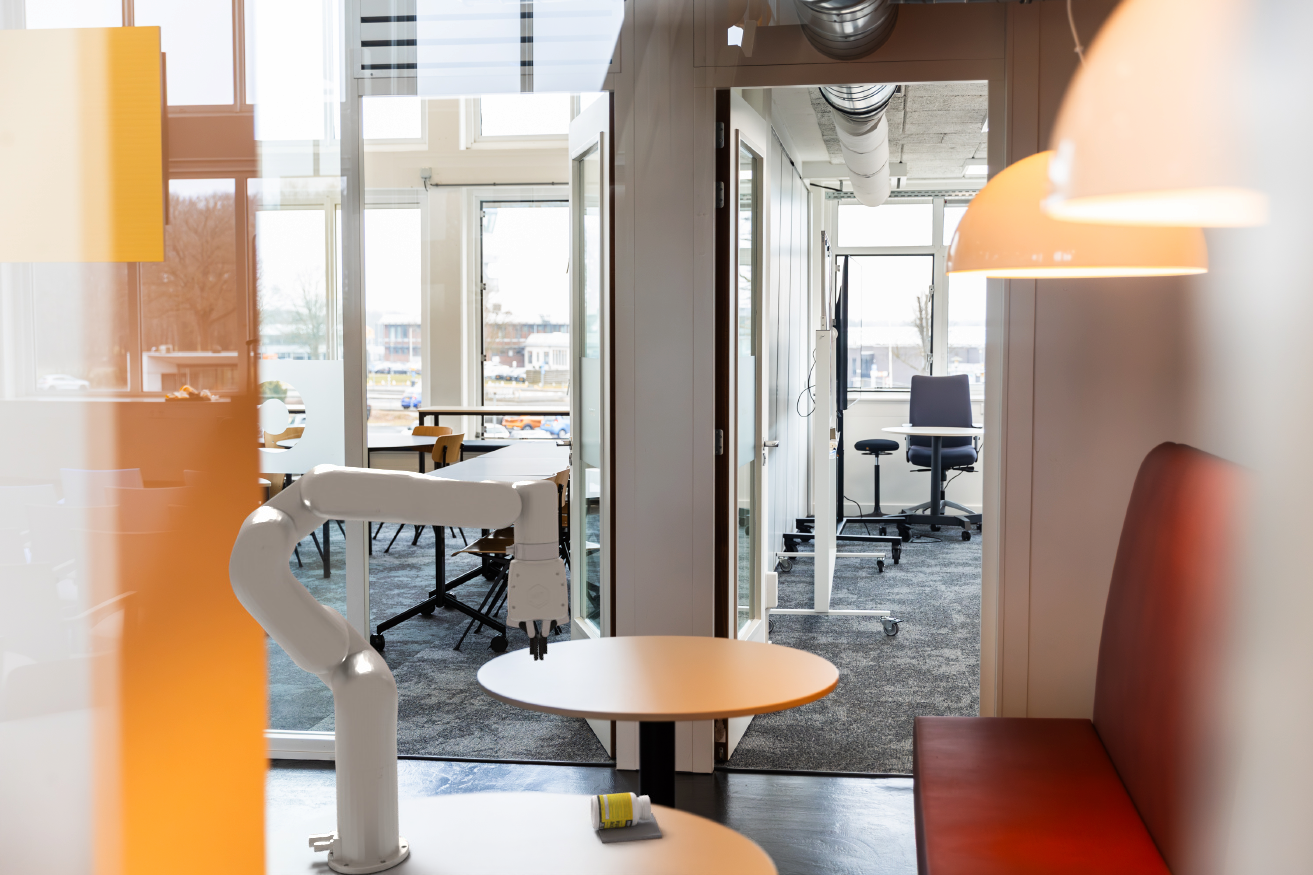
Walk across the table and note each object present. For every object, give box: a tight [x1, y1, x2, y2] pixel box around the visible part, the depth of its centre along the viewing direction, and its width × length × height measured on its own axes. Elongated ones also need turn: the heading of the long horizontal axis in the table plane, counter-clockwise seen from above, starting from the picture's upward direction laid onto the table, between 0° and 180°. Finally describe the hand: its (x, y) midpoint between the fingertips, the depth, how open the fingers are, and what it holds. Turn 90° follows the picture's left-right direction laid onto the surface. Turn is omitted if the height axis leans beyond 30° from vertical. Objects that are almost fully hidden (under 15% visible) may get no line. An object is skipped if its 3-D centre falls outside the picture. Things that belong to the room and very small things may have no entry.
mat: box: [598, 812, 663, 844], centre depth 164 cm, size 10×9×1 cm
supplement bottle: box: [590, 792, 652, 830], centre depth 164 cm, size 5×5×10 cm
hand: (538, 658), depth 165 cm, fingers closed
